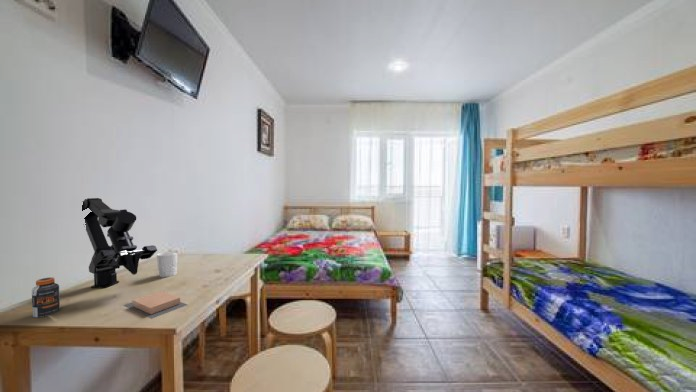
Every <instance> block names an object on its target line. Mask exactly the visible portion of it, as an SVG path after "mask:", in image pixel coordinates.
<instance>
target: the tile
mask: <svg viewBox="0 0 696 392" xmlns="http://www.w3.org/2000/svg"><path fill="white" fill-rule="evenodd" d="M180 302H181V297H179V296H177V295H173V294H171V293H169V292H165V291H162V290H161V291H157V292H153V293H151V294H147V295H145V296H142V297H138V298H135V299H132V301H131V303H133V306H134V307H136V308H138V309H140V310H143V311H145V312H147V313H149V314H153V313H156V312H159V311H162V310H164V309H167V308H170V307H172V306H175V305H178V304H180Z"/></svg>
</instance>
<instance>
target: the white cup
mask: <svg viewBox="0 0 696 392" xmlns="http://www.w3.org/2000/svg"><path fill="white" fill-rule="evenodd" d="M156 260H157V269H158V277H160V278H170V277H174V276H176V275H177V274H178V272H177V271H178V251H175V250H172V251H163V252H160V253H157V254H156Z"/></svg>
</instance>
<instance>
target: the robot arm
mask: <svg viewBox="0 0 696 392" xmlns="http://www.w3.org/2000/svg"><path fill="white" fill-rule="evenodd" d="M82 202H83V205H82V211H83V210H85V209H87V208H89V209H90V210H91V211H92V212H90V213H89V214H88V215H87V216H86V217H85V218H84V219H85V223H86V224H85V225H86V229H85V231H86V234H87V236H88V239H89V241H90V243H91V246H92V248H93V255H92V257H91V260H90V262H89V265H88V272H89V273H91V274H93V278H94V279H93V282H94V285H91V286H90V288H91V289H93V288H99V289H101V288H104V289H105V288H108V287H111V286H114V285H115V284H118V283H120V280H117V279H118V278H117V272H116V269H120V268H121V267H124V268H125V269H126V270H127V271H128V272H129V273H130V274H132V275H133V276H134V275H136V274H138V269H139V262H140V260H147V259H148V260H149V259H150V258H152V256H154V254H156V252H158V248H157V246H156V245H154V244H153V245H145V246H143V247H142V248H141V249H138V250H137V248H138V246H137V245H135V244H134V243H133V240H134V236H130V234H129V231H131V229H132V228H133V226H134V225H135V222H137V216H136V215H135V214H134V213H132V212H130V211H128V210H127V209H113V208H111V207H110V206H108V205H107V204H106V203H105V202H103V199H102V198H99V197H92V198H91V197H90V198H89V197H88V198H84V199H83V201H82ZM102 228H108V229H107V234H106V235H107V236H105V234H104V231H103V229H102ZM106 237H107V238H109V240H110V242H111V245H109V243H108V241H107V238H106Z"/></svg>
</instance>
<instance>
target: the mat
mask: <svg viewBox="0 0 696 392" xmlns="http://www.w3.org/2000/svg"><path fill="white" fill-rule="evenodd" d="M123 306H124V307H126V308H129V309H130V310H132V311H134V312H137V313H138V314H141V315H143V316H145V317H148V318H149V319H155V318H157V317H159V316H162V315H165V314H167V313H168V314H169V313H170V312H172V311H176V310H178V309H181V308H184V307H186V306H188V304H187V303H185V302H182V301H180V304H178V305H175V306H172V307H170V308H167V309H164V310H162V311H159V312H156V313H153V314H149V313H147V312H145V311H143V310H140V309H138V308H136V307H134V306H133V303H132V302H128V303H125V304H123Z"/></svg>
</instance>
